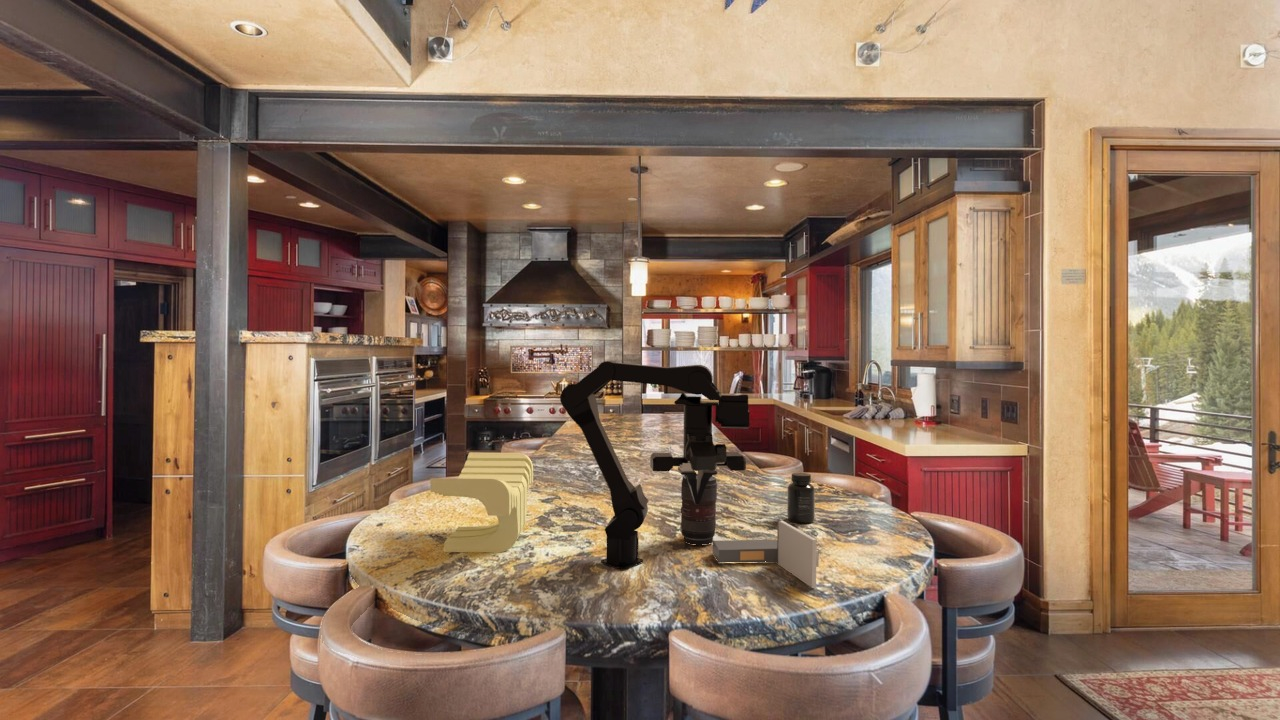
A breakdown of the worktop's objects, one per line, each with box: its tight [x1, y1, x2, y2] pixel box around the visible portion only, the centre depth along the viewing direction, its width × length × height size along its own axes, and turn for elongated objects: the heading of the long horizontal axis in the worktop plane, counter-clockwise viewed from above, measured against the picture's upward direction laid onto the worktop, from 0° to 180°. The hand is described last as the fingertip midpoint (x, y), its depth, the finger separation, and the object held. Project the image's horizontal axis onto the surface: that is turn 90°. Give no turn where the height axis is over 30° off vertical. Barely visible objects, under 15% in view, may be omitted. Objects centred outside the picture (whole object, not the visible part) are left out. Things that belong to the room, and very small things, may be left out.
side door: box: [776, 518, 820, 589], centre depth 124 cm, size 14×2×9 cm, turn 16°
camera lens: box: [680, 473, 718, 545], centre depth 144 cm, size 8×8×15 cm
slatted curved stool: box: [429, 451, 534, 553], centre depth 142 cm, size 30×16×18 cm, turn 1°
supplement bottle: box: [787, 472, 816, 524], centre depth 162 cm, size 7×7×12 cm
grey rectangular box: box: [712, 538, 777, 563], centre depth 133 cm, size 15×6×3 cm, turn 95°
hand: (697, 503), depth 127 cm, fingers closed
